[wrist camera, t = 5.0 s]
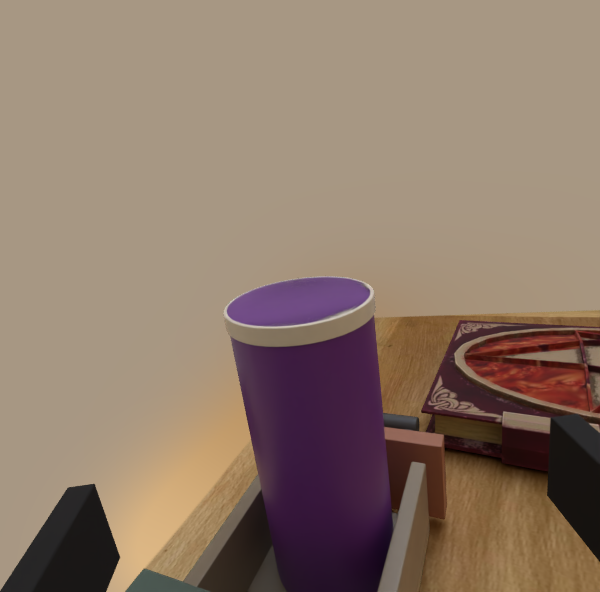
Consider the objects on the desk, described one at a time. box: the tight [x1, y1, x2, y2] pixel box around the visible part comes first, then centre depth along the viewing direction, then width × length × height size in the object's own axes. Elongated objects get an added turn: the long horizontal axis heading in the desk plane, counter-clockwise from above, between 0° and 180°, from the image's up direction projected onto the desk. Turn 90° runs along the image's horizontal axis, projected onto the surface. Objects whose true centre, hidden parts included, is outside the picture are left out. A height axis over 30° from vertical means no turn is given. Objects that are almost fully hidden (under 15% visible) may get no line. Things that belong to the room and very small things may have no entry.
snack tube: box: [224, 277, 394, 592], centre depth 22 cm, size 7×7×15 cm
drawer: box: [183, 413, 447, 592], centre depth 24 cm, size 20×10×5 cm, turn 157°
